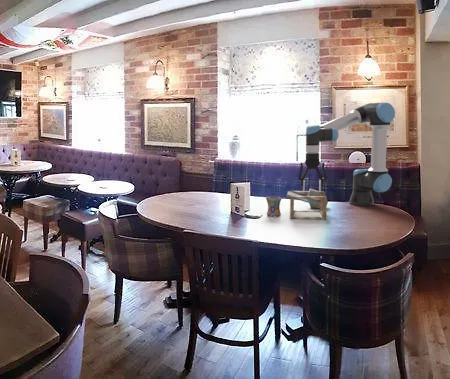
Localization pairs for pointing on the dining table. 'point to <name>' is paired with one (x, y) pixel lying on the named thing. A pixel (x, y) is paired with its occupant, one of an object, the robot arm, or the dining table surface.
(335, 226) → the dining table surface
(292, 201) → the frame
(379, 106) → the robot arm
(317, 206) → the rock
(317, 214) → the mat
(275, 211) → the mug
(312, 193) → the stone
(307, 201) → the trapdoor
